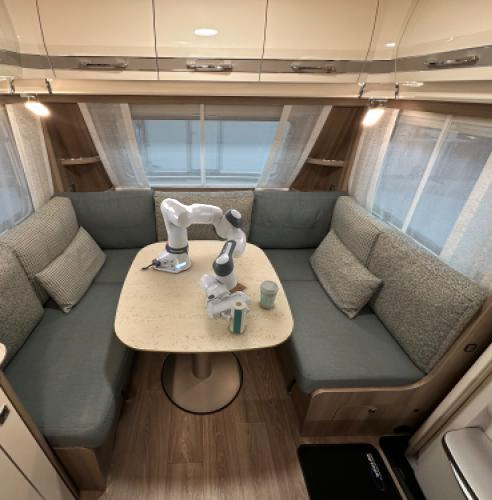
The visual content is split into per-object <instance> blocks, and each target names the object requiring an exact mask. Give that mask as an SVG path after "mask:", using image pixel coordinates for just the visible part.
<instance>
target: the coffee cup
mask: <svg viewBox="0 0 492 500" xmlns="http://www.w3.org/2000/svg"><path fill="white" fill-rule="evenodd" d="M259 289H260V306H261V307H262V308H263V309H267V310H270V309H272V308H273V307H274V304H275V300H276V298H277V294H278V292H279V290H280V289H279V285H278V284H277V282H275V281H273V280H264V281H262V282H261V284H260V285H259Z"/></svg>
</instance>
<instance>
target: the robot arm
mask: <svg viewBox="0 0 492 500" xmlns="http://www.w3.org/2000/svg"><path fill="white" fill-rule="evenodd" d="M159 209H160V212H161V214H162V217H163V221H164V225H165V229H166V232H167V240H166V242H165V246H164V249H162V250H161V251H160V252H159V253H158V254H157V257H156V258H154V259H152V260H151V264H149V265H147V266H146V267H142V268H141V270H148V269H149V268H150V267H152V266H153V269H154V270H159V271H163V272H169V273H173V274H179V273H180V272H182V271H184V270H185V271H186V270H187V269H189V268H191V266H192V261H191V258H190V254H189V252H190V246H189V242H188V230H187V228H188V227H190V226H191V225H195V224H197V225H198V224H200V225H201V224H203V225H212V227H211V230H212V233H213V235H214V237H215V239H217V240H218V241H221V242H224V244H223V246H222V248H221V251H220V253H219V255H218V256H217V257H216V258H215V259H214V260H213V262H212V267H211V268H212V270H213V271H214V274H209V273H205V274H203V275H202V276H201V277H200V279H199V288H200V289H201V290H202V292H203V293H204V294H205V296H207V297H205V303H204V305H205V310H206V311H207V314H208V316H209V317H210V319H212V320H213V321H216V320H218V319H220V318H221V319H223V320H226V321H227V322H228V323H230V322H231V321H232V318H231V304H232V302H233V301H234V300H237V299H239V300H243V301H244V302H245V303H246V312H245V315H246V314H249V313H250V312H251V310H250V308H249V307H248V306H249V305H250V304H251V297H250V296H249V295H247V294H246V293H244V292H243V291H242V290H241V291H236V292H234V293H230V292H229V291H230V290H232V289H234V288H235V287H236V285H237V283H238V277H237V273H236V269H235V264H234V263H235V262H234V260H236V259H240V258H242V257H243V255H244V254H245V251H246V246H247V236H246V233H245V232H244V231H243V230H242V229H241V228H243V226H244V224H243V221H244V220H243V215H242V213H241V212H240V211H239V210H237V209H235V208H230V209H228V210H227V211H226V212H225V213H223V209H222V208H220V207H219V206H217V205H216V206H215V205H211V204H201V203H193V204H191V205H185V204H182V203H181V202H179V201H178V200H176V199H173V198H165V199H164V200H162V202H161V204H160V208H159ZM229 314H230V315H229Z"/></svg>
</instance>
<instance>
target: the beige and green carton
mask: <svg viewBox="0 0 492 500" xmlns="http://www.w3.org/2000/svg"><path fill="white" fill-rule="evenodd" d="M245 312H246V303H245V302H244V301H243V300H239V299H237V300H234V301H233V302H232V304H231V313H230V317H231V318H232V321H230V322H229V323H230V325H229V329H230V331H231V332H232V333H233V334H235V335H236V334H237V335H238V334H239V335H240V334H242V333H243V332H244V331H245V321H246V313H245Z"/></svg>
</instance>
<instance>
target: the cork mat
mask: <svg viewBox="0 0 492 500" xmlns="http://www.w3.org/2000/svg"><path fill="white" fill-rule="evenodd" d="M245 288H246V286H245V285H243V284H241V283H239V282H237V285H236V287H235V288H234V289H232V290H230V291H229V292H230V293H234V292H236V291H241V292H242V290H244V289H245Z"/></svg>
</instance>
